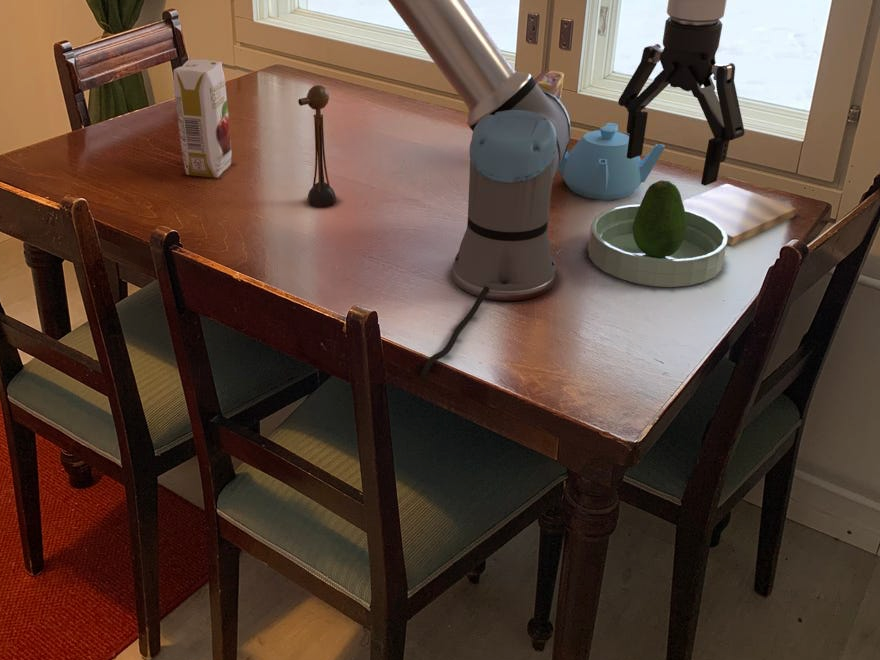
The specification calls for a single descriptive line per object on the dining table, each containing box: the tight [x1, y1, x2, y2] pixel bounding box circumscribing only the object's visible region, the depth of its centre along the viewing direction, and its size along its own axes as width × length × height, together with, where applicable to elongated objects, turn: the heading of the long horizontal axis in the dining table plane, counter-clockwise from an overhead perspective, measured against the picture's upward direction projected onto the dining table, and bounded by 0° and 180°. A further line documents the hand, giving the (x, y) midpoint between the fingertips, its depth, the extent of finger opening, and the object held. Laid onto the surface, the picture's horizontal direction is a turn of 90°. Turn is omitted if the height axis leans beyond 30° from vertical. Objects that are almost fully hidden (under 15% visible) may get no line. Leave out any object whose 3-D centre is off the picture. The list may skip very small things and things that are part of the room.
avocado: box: [632, 179, 687, 258], centre depth 153 cm, size 8×8×12 cm
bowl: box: [587, 203, 728, 288], centre depth 155 cm, size 20×20×4 cm
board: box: [682, 183, 797, 246], centre depth 169 cm, size 18×14×2 cm
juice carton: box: [173, 58, 233, 179], centre depth 179 cm, size 8×9×19 cm
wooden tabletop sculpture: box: [298, 84, 337, 209], centre depth 167 cm, size 6×5×20 cm
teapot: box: [558, 122, 666, 201], centre depth 176 cm, size 15×15×11 cm
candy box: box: [533, 69, 565, 103], centre depth 186 cm, size 9×4×15 cm, turn 157°
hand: (670, 169), depth 148 cm, fingers open, 13 cm apart
